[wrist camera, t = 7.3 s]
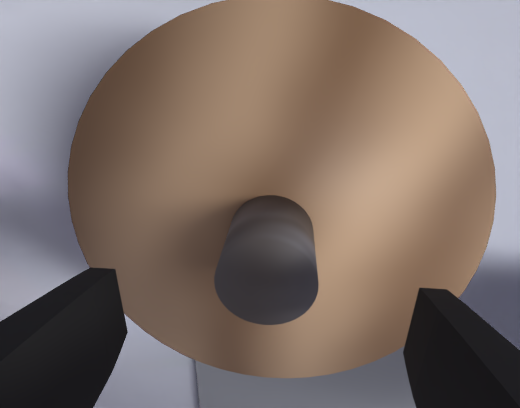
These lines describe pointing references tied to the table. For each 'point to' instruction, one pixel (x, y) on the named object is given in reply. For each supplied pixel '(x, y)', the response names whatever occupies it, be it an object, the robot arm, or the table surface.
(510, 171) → the table surface
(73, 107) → the table surface
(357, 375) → the grey square pad
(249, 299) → the walnut lid
